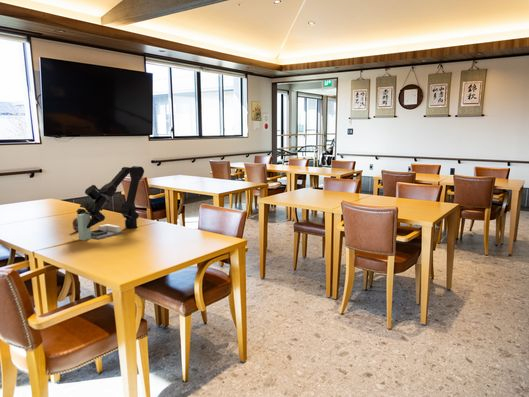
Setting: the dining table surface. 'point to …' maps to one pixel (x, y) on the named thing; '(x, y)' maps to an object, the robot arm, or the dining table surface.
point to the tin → (75, 224)
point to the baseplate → (106, 231)
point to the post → (83, 226)
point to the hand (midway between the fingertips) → (81, 226)
